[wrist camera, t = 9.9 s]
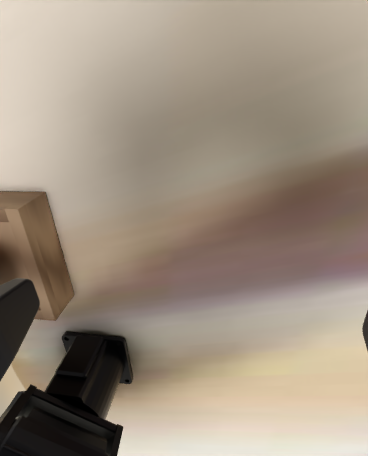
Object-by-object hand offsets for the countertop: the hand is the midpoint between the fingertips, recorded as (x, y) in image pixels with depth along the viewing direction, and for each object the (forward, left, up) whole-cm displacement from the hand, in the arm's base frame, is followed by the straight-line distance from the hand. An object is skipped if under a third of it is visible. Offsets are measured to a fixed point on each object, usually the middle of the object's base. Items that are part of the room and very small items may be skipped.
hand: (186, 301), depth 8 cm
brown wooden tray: (-7, +18, -13) cm, 23 cm away
